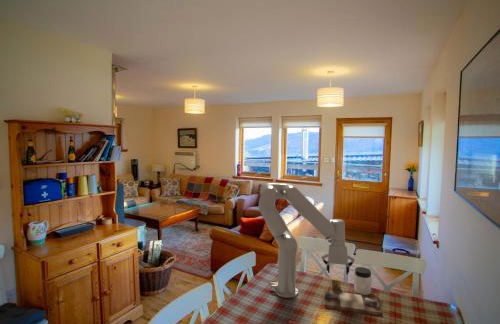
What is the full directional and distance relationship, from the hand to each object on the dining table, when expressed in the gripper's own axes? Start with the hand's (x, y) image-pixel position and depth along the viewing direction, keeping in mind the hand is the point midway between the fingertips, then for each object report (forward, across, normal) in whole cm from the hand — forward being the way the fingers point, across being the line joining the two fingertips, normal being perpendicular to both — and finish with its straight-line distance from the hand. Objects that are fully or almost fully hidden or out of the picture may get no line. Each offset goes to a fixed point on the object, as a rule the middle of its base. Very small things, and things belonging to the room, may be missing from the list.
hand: (337, 272), depth 158 cm
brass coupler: (+10, -1, 0) cm, 10 cm away
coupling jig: (+10, +6, -12) cm, 17 cm away
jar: (+10, +13, +3) cm, 17 cm away
